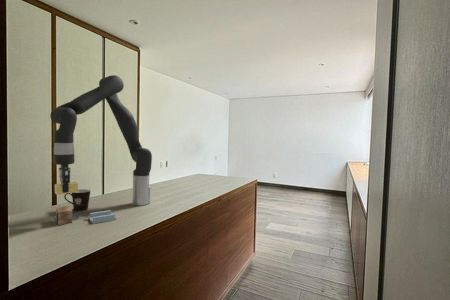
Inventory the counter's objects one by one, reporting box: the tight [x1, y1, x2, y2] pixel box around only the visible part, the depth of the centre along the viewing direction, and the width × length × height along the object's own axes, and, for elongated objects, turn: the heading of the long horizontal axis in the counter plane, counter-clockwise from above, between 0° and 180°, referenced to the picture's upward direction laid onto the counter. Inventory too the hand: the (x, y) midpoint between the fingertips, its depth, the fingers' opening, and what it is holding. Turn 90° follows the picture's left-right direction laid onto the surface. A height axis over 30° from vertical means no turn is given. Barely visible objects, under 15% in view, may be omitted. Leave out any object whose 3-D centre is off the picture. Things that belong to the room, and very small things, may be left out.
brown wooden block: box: [55, 205, 73, 226], centre depth 109 cm, size 5×8×6 cm, turn 41°
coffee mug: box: [63, 188, 91, 212], centre depth 127 cm, size 12×9×10 cm
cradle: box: [88, 209, 117, 225], centre depth 114 cm, size 10×8×3 cm
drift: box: [53, 211, 80, 225], centre depth 110 cm, size 9×3×3 cm, turn 146°
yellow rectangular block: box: [54, 181, 79, 196], centre depth 108 cm, size 8×4×4 cm, turn 136°
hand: (64, 191), depth 107 cm, fingers closed on yellow rectangular block, 4 cm apart
